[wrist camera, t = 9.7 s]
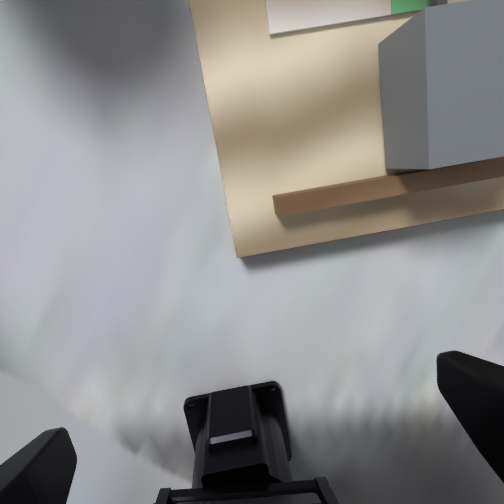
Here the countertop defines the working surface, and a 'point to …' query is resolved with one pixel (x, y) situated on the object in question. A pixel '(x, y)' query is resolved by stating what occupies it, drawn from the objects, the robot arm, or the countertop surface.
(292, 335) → the countertop surface
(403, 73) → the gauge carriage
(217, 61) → the bench
